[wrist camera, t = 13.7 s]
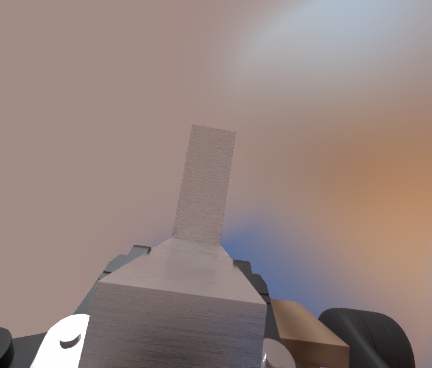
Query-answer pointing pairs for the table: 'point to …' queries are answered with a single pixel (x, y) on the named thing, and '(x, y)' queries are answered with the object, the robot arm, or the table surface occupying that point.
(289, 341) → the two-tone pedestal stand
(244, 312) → the notched grey block
